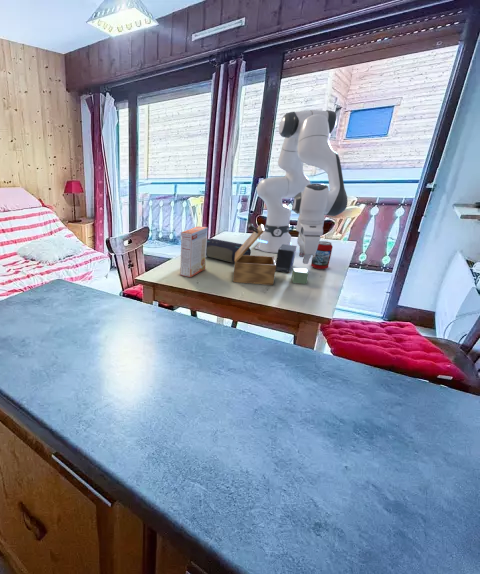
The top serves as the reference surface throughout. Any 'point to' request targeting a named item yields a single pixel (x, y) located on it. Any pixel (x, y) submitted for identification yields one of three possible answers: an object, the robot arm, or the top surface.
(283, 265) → the small box
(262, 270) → the basket
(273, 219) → the robot arm
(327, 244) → the beverage can
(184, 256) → the cracker box
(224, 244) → the portable speaker
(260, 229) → the basket lid
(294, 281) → the block
